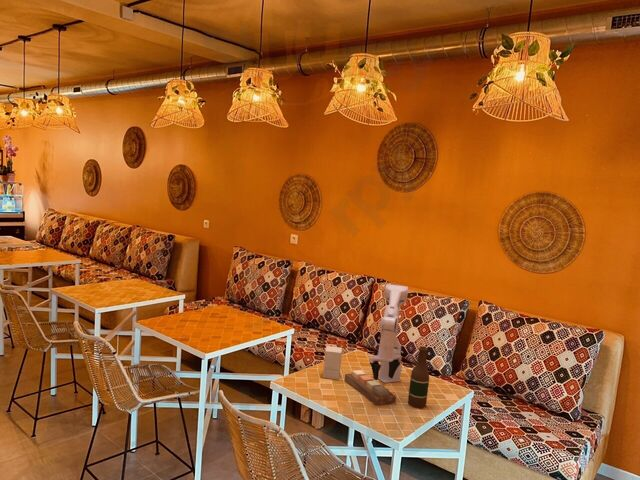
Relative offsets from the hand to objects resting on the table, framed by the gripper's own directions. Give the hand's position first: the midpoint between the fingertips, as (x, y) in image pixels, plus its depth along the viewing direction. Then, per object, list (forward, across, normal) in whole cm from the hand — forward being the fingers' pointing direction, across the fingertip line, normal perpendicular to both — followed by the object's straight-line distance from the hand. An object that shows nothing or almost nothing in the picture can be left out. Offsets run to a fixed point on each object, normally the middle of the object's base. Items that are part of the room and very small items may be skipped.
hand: (383, 378), depth 197 cm
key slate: (+7, 0, 0) cm, 7 cm away
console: (+9, 0, +9) cm, 13 cm away
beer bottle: (+10, +13, -7) cm, 18 cm away
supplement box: (+10, -8, +28) cm, 31 cm away
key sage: (+7, 0, +6) cm, 9 cm away
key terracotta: (+7, 0, +12) cm, 14 cm away
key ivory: (+7, 0, +18) cm, 19 cm away
